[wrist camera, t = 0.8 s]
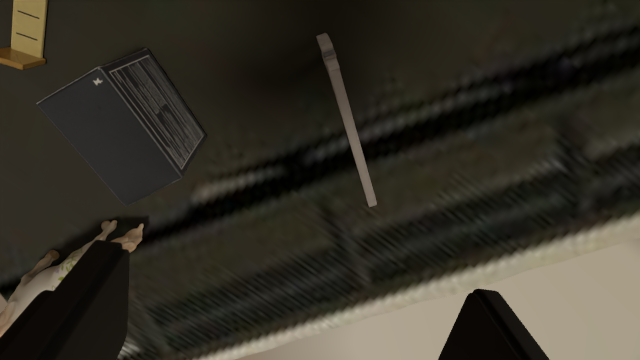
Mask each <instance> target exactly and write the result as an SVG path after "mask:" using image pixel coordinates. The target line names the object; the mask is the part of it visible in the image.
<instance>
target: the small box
mask: <svg viewBox="0 0 640 360" xmlns="http://www.w3.org/2000/svg"><path fill="white" fill-rule="evenodd" d="M37 105H38V107H39V108H40V109H41V110H42V111H43V112H44V113H45V115H46V116H47V117H48V118H49V119H50V120H51V122H52V123H53V124H54V125H55V126H56V127H57V128H58V130H59V131H60V132H61V133H62V134H63V135H64V136H65V137H66V139H67V140H68V141H69V142H70V143H71V144H72V146H73V147H74V148H75V149H76V150H77V151H78V152H79V154H80V155H81V156H82V157H83V158H84V159H85V160H86V162H87V163H88V164H89V165H90V166H91V167H92V169H93V170H94V171H95V172H96V173H97V174H98V175H99V177H100V178H101V179H102V180H103V181H104V182H105V184H106V185H107V186H108V187H109V188H110V189H111V191H112V192H113V193H114V194H115V195H116V196H117V198H118V199H119V200H120V201H121V202H122V203H123V205H124V206H129V205H131V204H133V203H135V202H137V201H139V200H141V199H143V198H145V197H147V196H149V195H151V194H153V193H155V192H156V191H158V190H160V189H162V188H164V187H166V186H168V185H170V184H172V183H174V182H176V181H178V180H180V179H181V178H182V177H183V175H184V173H185V171H186V169H187V167H188V165H189V164H190V162H191V161H192V159H193V158H194V156H195V154H196V153H197V151H198V150H199V148H200V146H201V145H202V143H203V141H204V140H205V139H206V138H207V135H206V134H205V132H204V131H203V129H202V128H201V126H200V125H199V123H198V122H197V120H196V119H195V117H194V116H193V114H192V113H191V111H190V110H189V108H188V107H187V105H186V104H185V103H184V101H183V100H182V98H181V97H180V95H179V94H178V92H177V91H176V89H175V88H174V86H173V85H172V83H171V82H170V80H169V79H168V77H167V76H166V75H165V73H164V72H163V70H162V69H161V67H160V66H159V64H158V63H157V61H156V60H155V59H154V57H153V56H152V54H151V53H150V51H149V49H146V48H142V49H141V50H140V51H138V52H135V53H133V54H130V55H127V56H124V57H122V58H119V59H117V60H114V61H112V62H109V63H107V64H104V65H102V66H97V67H95V68H94V69H92V70H91V71H89V72H88V73H86V74H84V75H82V76H81V77H79V78H77V79H76V80H74V81H72V82H71V83H69V84H67V85H66V86H64V87H62V88H60V89H59V90H57V91H55V92H54V93H52V94H50V95H48V96H47V97H45V98H43V99H41V100H40V101H38V102H37Z"/></svg>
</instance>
